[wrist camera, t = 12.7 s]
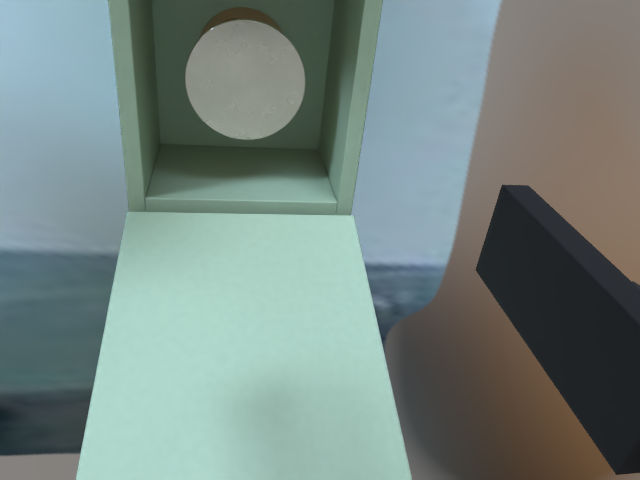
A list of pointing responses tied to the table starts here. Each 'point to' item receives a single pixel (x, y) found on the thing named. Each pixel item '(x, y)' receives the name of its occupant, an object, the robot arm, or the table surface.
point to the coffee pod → (244, 75)
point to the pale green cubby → (236, 154)
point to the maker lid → (241, 355)
